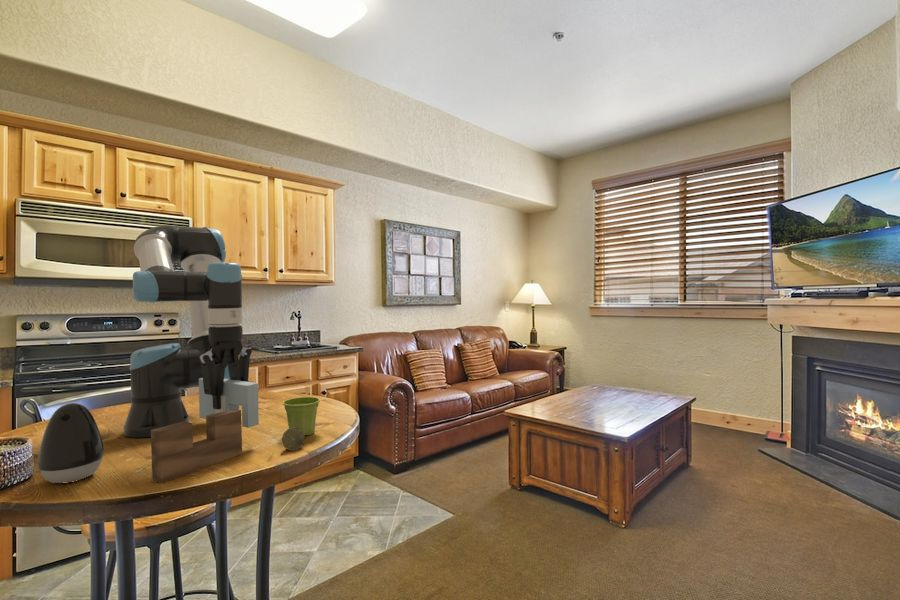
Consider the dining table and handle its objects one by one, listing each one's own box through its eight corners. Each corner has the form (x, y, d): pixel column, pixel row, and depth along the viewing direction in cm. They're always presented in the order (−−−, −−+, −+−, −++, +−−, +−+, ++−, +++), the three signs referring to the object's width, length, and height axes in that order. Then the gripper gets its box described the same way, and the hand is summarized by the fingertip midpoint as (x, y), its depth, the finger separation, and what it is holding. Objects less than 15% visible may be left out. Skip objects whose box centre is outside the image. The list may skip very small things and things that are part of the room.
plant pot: (326, 428, 121) (325, 396, 121) (312, 439, 111) (311, 404, 111) (293, 428, 122) (292, 396, 122) (276, 439, 112) (275, 404, 112)
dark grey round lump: (307, 446, 106) (306, 425, 106) (294, 453, 101) (293, 431, 101) (291, 445, 107) (290, 424, 107) (277, 451, 103) (277, 430, 103)
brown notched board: (152, 481, 87) (150, 430, 87) (233, 451, 103) (232, 408, 103) (161, 483, 86) (159, 431, 86) (242, 453, 102) (241, 410, 102)
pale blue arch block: (199, 417, 113) (198, 378, 113) (210, 414, 116) (209, 376, 116) (248, 427, 105) (247, 385, 105) (258, 424, 108) (258, 383, 108)
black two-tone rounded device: (27, 494, 83) (25, 412, 83) (50, 474, 92) (49, 401, 92) (95, 483, 87) (93, 405, 87) (111, 466, 96) (109, 395, 96)
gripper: (204, 328, 101) (206, 431, 102) (263, 323, 116) (264, 413, 116) (184, 327, 105) (186, 426, 105) (243, 322, 119) (245, 409, 120)
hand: (227, 419), depth 111 cm, fingers closed on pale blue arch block, 3 cm apart
